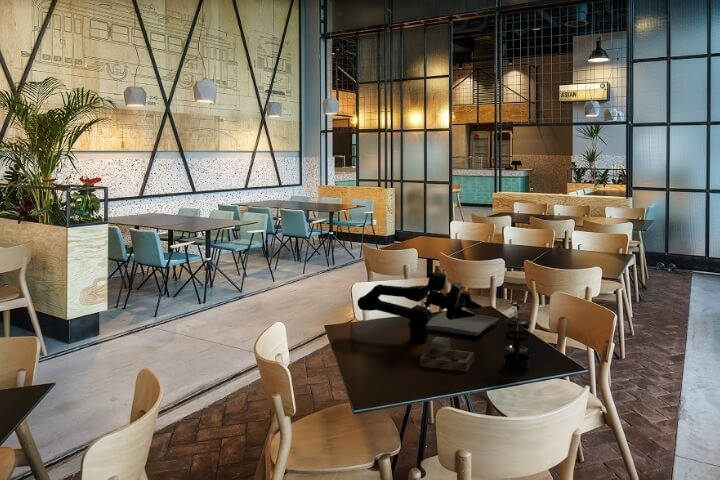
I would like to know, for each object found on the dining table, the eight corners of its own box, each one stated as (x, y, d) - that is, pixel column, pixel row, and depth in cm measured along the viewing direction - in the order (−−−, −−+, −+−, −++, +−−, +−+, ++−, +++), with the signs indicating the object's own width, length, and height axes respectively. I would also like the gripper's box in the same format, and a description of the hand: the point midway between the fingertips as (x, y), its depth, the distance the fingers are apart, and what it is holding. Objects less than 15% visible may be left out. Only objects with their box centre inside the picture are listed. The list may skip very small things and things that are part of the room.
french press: (529, 371, 210) (532, 308, 207) (502, 369, 212) (504, 307, 209) (529, 361, 221) (531, 300, 218) (503, 359, 223) (505, 299, 220)
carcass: (420, 366, 216) (420, 354, 216) (429, 355, 228) (430, 344, 228) (466, 372, 210) (466, 360, 209) (473, 360, 222) (474, 349, 221)
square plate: (499, 325, 271) (499, 316, 270) (479, 340, 248) (479, 331, 247) (444, 317, 285) (444, 309, 284) (420, 331, 262) (420, 323, 261)
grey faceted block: (430, 354, 230) (430, 343, 229) (435, 347, 238) (435, 336, 238) (445, 356, 228) (445, 344, 227) (450, 349, 236) (450, 338, 236)
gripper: (436, 288, 230) (474, 299, 223) (452, 275, 246) (488, 285, 239) (431, 314, 233) (469, 326, 227) (448, 299, 249) (483, 310, 242)
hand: (478, 310), depth 234 cm, fingers open, 9 cm apart
